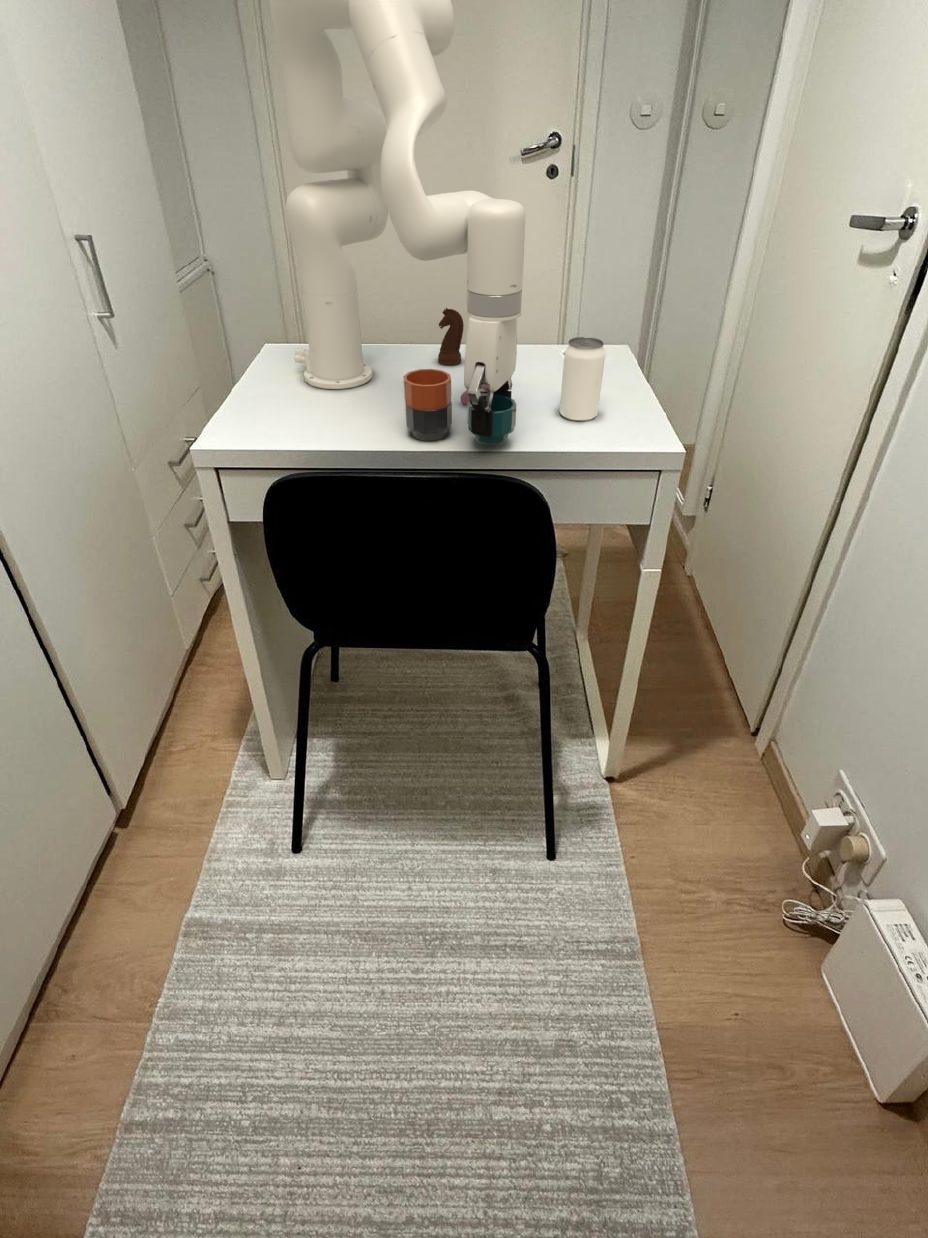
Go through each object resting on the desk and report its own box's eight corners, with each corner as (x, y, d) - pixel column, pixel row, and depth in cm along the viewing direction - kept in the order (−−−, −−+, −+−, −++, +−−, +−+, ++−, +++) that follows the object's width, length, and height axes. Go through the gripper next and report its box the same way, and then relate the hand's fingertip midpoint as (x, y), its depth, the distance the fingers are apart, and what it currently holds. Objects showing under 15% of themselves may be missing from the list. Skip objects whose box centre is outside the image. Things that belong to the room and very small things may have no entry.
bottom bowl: (399, 438, 115) (397, 406, 112) (418, 421, 120) (417, 389, 117) (440, 446, 113) (440, 413, 110) (458, 428, 118) (458, 396, 115)
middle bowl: (397, 415, 113) (395, 381, 109) (417, 399, 118) (416, 366, 115) (439, 423, 111) (439, 388, 107) (458, 406, 116) (458, 372, 112)
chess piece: (443, 356, 145) (442, 304, 139) (467, 360, 144) (467, 307, 137) (434, 364, 142) (433, 310, 135) (458, 367, 140) (458, 313, 134)
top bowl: (460, 442, 111) (460, 408, 108) (478, 424, 116) (478, 391, 113) (504, 450, 109) (506, 415, 105) (520, 431, 114) (522, 398, 111)
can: (573, 424, 119) (580, 351, 112) (551, 410, 124) (557, 339, 116) (605, 417, 122) (614, 345, 114) (583, 404, 126) (591, 333, 119)
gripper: (491, 285, 108) (488, 400, 119) (444, 316, 95) (446, 443, 106) (539, 290, 105) (532, 407, 116) (497, 323, 93) (494, 451, 104)
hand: (491, 423), depth 111 cm, fingers closed on top bowl, 7 cm apart
